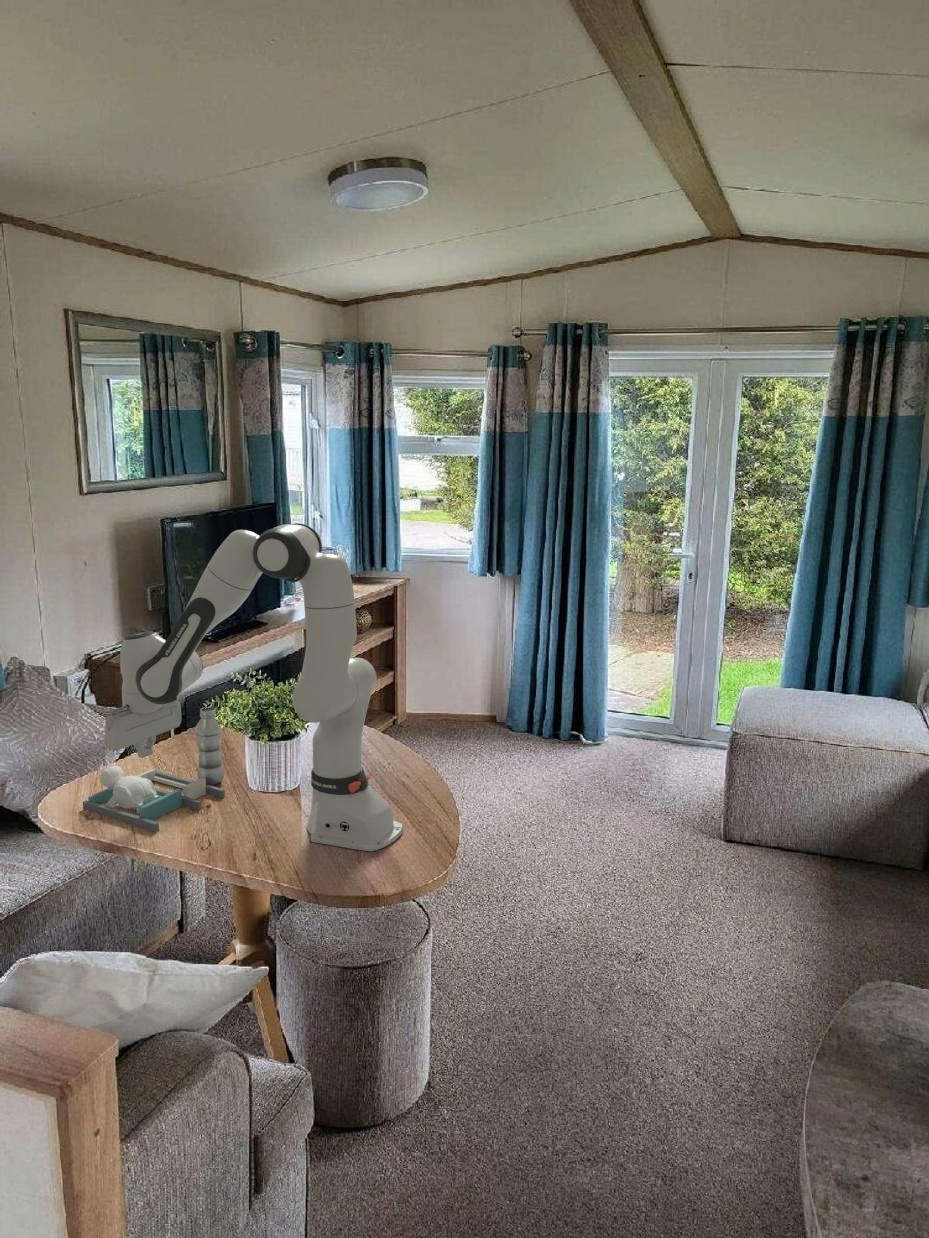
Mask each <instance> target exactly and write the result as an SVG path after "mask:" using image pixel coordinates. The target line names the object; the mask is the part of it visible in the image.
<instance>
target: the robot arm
mask: <svg viewBox="0 0 929 1238" xmlns="http://www.w3.org/2000/svg"><path fill="white" fill-rule="evenodd" d="M322 549H323V543H322V539H321V537H320V535H319V534H318V532H317V531H316V530H315V529H314V528H313V527H311V526H310V525H307V524H304V523H300V522H299V523H289V524H288V523H287V524H286V523H284V524H281V525H278V526H276V527H273V528H270V529H267V530H265V531H264V532H262V533H261V535H259V534H257V533H255V532H254V531H251V530H248V529H236V530H234V531H232V532H231V533H230V534H229V535H228V536H227V537H226V538H225V539H224V541H222V543H220V546H218V548H217V549H216V551H215V552H214V554H213V556H212V557H211V559H210V560H209V562H208V563H207V565H206V567H205V569H204V571H203V573H202V575H201V576H200V579H199V580H198V583H197V585H196V587H195V589H194V592H193V594H192V596H190V599H189V600H188V603H187V605H186V607H185V609H184V611H183V612H182V614H181V615H180V617H179V619H178V620H177V622H176V623H175V626H174V627H173V629H172V630H171V632H170V633H169V635H168V637H167V638H166V639H165V638H163V637H161V636H160V635H159V634H158V633H157V632H155V631H151V630H144V631H143V630H142V631H138V632H134V633H132V634H130V635H127V636H126V637H125V638H124V639H123V640H122V641H121V645H120V653H119V654H120V655H119V658H120V659H119V662H120V665H119V666H120V668H119V669H120V674H121V677H122V684H121V702H122V704H121V705H122V706H119V707H118V708H114V709H111V710H110V711H109V713H108V714H107V715H106V717H105V725H104V736H103V737H104V739H103V742H104V746H105V747H106V748H107V749H109V750H112V751H113V750H114V751H119V750H122V749H125V748H127V747H130V746H132V745H133V746H134V748H135V749H136V751H137V757H138V758H141V759H143V758H146V757H148V756H150V755H152V754H153V752H154V751H153V748H154V746H155V743H156V741H157V736H159V735H162V734H164V733H165V732H170V731H171V730H174V729H177V728H179V727H180V725H181V723H182V709H181V707H182V706H181V703H180V702H179V700H180V694H181V693H182V692H184V691H185V690H187V689H188V688H189V687H191V686H192V685H193V684H194V683H196V682H197V681H198V680H199V679H200V678H201V676H202V674H203V669H204V666H203V664H204V663H203V661H202V658H201V656H200V655H199V654H198V652H197V651H196V650H197V648H198V646H199V645H200V644H201V642H202V640H203V639H204V637H205V636H206V635H208V633H209V632H210V631H212V629H213V628H215V627H216V626H217V625H218V624H220V623H221V622H222V621H224V620H226V619H227V618H228V617H230V616H231V615H233V614H234V613H235V612H236V611H237V610H238V609H239V608H240V607H241V606H242V605H243V603H244V602H245V601H246V600H247V599H248V597H249V596H250V595H251V593H252V590H253V589H254V588H255V586H256V584H257V582H258V580H259V579H260V577H261V576H262V575H263V574H264V575H266V576H269V577H271V578H275V579H279V580H282V581H286V582H290V583H297V582H298V583H300V585H301V588H302V592H303V604H304V605H303V607H304V618H305V632H306V642H305V652H304V658H303V664H302V669H301V673H300V676H299V679H298V682H297V684H296V686H295V688H294V689H293V691H292V698H291V700H292V706H293V709H294V710H295V712H296V714H297V715H298V717H300V718H301V719H303V721H306V722H308V723H314V724H316V723H318V726H317V728H316V730H315V731H314V733H313V737H312V768H311V776H310V784H311V787H312V799H311V807H310V808H311V809H310V814H309V817H308V822H307V824H306V829H307V831H308V833H309V834H310V841H311V842H312V843H317V844H322V845H323V844H324V845H328V846H334V847H340V848H347V849H353V850H359V851H365V852H374V851H378V850H380V849H383V848H385V847H387V846H389V845H391V844H393V842H395V841H396V840H398V838H399V837H401V835H402V834H403V831H404V828H403V827H404V826H403V824H402V823H400V822H399V821H396V820H394V815H393V811H392V807H391V806H390V804H389V802H387V801H386V800H385V799H384V798H383V797H382V796H381V795H380V794H379V793H377V791H376V790H375V789H373V788H372V787H371V785H369V780H371V779H372V773H369V774H368V775H366V772H365V770H364V768H363V766H362V747H363V746H362V744H363V743H362V742H363V741H362V739H363V732H364V727H365V720H366V717H367V711H368V708H369V702H370V700H371V696H372V695H373V692H374V690H375V689H376V687H377V682H378V676H377V672H376V670H375V668H374V666H373V665H372V664H371V662H369V661H368V660H366V659H365V658H362V657H351V655H352V650H353V649H354V648H353V647H354V645H355V643H356V640H357V637H358V631H357V630H358V629H357V617H356V615H357V614H356V604H355V603H356V602H355V601H356V600H355V591H354V587H353V586H354V585H353V580H352V576H351V573H350V568H349V565H348V563H347V561H346V560H345V558H343V557H341V556H339V555H336V554H333V553H322Z"/></svg>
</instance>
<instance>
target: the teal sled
mask: <svg viewBox="0 0 929 1238" xmlns="http://www.w3.org/2000/svg"><path fill="white" fill-rule="evenodd" d="M169 792H170V791H169ZM156 795H158V794H156ZM112 796H113V789H108V788H107V787H106V788H105V789H103V790H101V791H98V792H96V793H94V794H91V795H89V796H88V797H87V798H88V800H87V801H90V802H93V803H97V804H100V805H103V803H107V802H108V801H109V800H110V799H111V798H112ZM158 796H159V797H158V799H156V800H154V801H151V802H149V803H147V804H145V805H143V806H141V807H140V813H139V815H140V816H139V817H142V818H145V819H148V820H152V821H154V820H155V819H158V818H160V817H162V816H164V815H166V814H168V813H170V812H172V811H173V810H176V809H178V808H180V807H183V806H182V805H183V804H182V796H183V789H181V788H180V789H179V788H177V789H174V790H172V791H171V792H170V793H168V794H166V795H164V796H162V795H158ZM103 806H106V805H103ZM106 807H107V806H106ZM115 809H116V808H115ZM116 810H119V811H122V812H124V811H123V810H120V809H116ZM128 813H129V814H132V813H130V812H128ZM132 815H135V814H132ZM135 816H137V815H135Z"/></svg>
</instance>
